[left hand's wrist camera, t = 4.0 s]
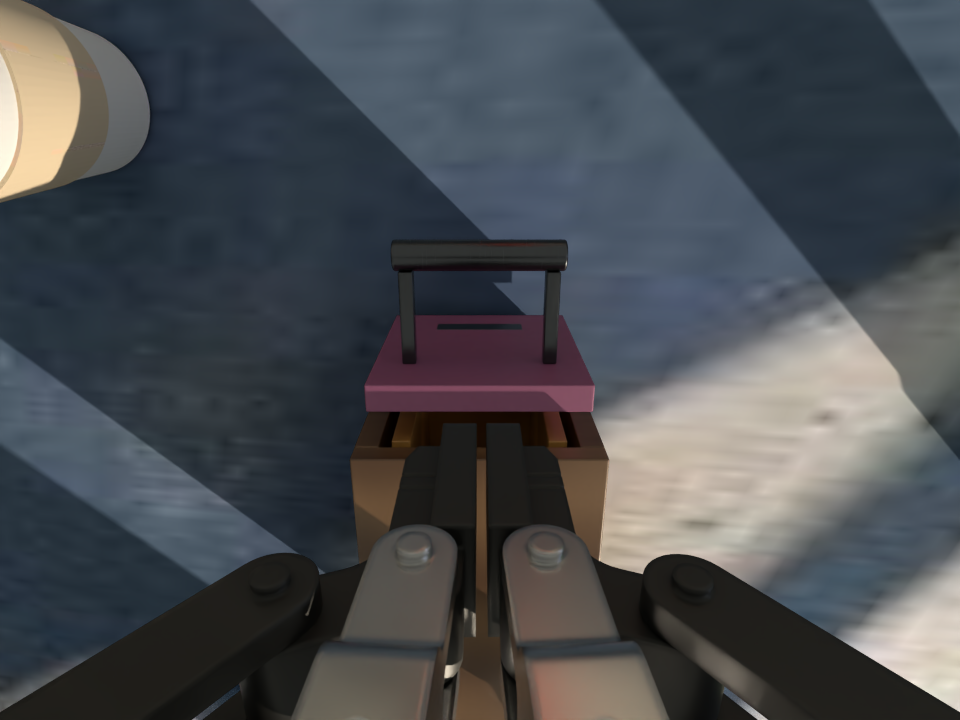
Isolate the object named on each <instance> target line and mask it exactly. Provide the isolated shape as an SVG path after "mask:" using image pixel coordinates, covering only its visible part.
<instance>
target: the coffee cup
mask: <svg viewBox="0 0 960 720" xmlns="http://www.w3.org/2000/svg"><path fill="white" fill-rule="evenodd" d="M149 124H150V108H149V101H148V97H147V93H146V90H145V87H144V85H143V82H142V80H141V78H140V76H139V74H138V73H137V71H136V69H135V68H134V66H133V65H132V63H131V62H130V61H129V60H128V58H127V57H126V56H125V55H124V54H123V53H122V52H121V51H120V50H119V49H118V48H117V47H115V46H114V45H113V44H112V43H110V42H109V41H107V40H106V39H104V38H103V37H101V36H99V35H97V34H95V33H93V32H90V31H88V30H85V29H83V28H80V27H78V26H75V25H73V24H70V23H68V22H65V21H62V20H60V19H57V18H55V17H53V16H51V15H50V14H48V13H47V12H45V11H43V10H41V9H40V8H38V7H36V6H34V5H31V4H29V3H27V2H24V1H22V0H0V203H1V202H5V201H8V200H12V199H16V198H20V197H23V196H27V195H31V194H34V193H38V192H42V191H46V190H49V189H53V188H57V187H60V186H64V185H66V184H69V183H71V182H73V181H75V180H79V179H83V178H87V177H91V176H95V175H99V174H104V173H108V172H111V171H115V170H117V169H119V168H121V167H123V166H125V165H126V164H128V163H129V162H130V161H132V160H133V159H134V158H135V157H136V155H137V154H138V153H139V152H140V150H141V149H142V147H143V145H144V143H145V140H146V138H147V134H148V131H149Z"/></svg>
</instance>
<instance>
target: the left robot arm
mask: <svg viewBox="0 0 960 720" xmlns="http://www.w3.org/2000/svg"><path fill="white" fill-rule="evenodd" d="M476 546H477V423H443V428H442V436H441V444H440V446H418V447H417V448H416V449H415V450H414V451H413V452H412V453H411V454H410V455H409V456H408V457H407V458H406V459H405V463H404V467H403V472H402V477H401V480H400V485H399V489H398V493H397V498H396V502H395V506H394V511H393V515H392V519H391V524H390V528H389V532H387V533H386V534H384V535H383V536H381V537H380V538H379V539H378V540H377V541H376V543H375V544H374V545H373V547H372V549H371V552H370V555H369V558H368V560H366V561H364V562H362V563H360V564H358V565H355V566H353V567H350V568H346V569H342V570H338V571H334V572H330V573H325V574H321V575H319V571H318V568H317V566H316V565H315V563H314V562H313V561H311V560H310V559H309V558H307V557H305V556H302V555H299V554H294V553H276V554H270V555H266V556H263V557H260V558H257V559H255V560H252V561H250V562H248V563H247V564H245V565H243V566H241V567H240V568H238V569H236V570H235V571H233V572H231V573H230V574H228V575H226V576H225V577H223V578H221V579H220V580H218V581H217V582H215V583H213V584H212V585H210V586H208V587H207V588H205V589H203V590H202V591H200V592H198V593H197V594H195V595H193V596H192V597H190V598H188V599H187V600H185V601H183V602H182V603H180V604H178V605H177V606H175V607H174V608H172V609H170V610H169V611H167V612H165V613H164V614H162V615H160V616H159V617H157V618H155V619H154V620H152V621H150V622H149V623H147V624H145V625H144V626H142V627H140V628H139V629H137V630H135V631H134V632H132V633H130V634H129V635H127V636H126V637H124V638H122V639H121V640H119V641H117V642H116V643H114V644H112V645H111V646H109V647H107V648H106V649H104V650H102V651H101V652H99V653H97V654H96V655H94V656H92V657H91V658H89V659H87V660H86V661H84V662H83V663H81V664H79V665H78V666H76V667H74V668H73V669H71V670H69V671H68V672H66V673H64V674H63V675H61V676H59V677H58V678H56V679H54V680H53V681H51V682H49V683H48V684H46V685H44V686H43V687H41V688H40V689H38V690H36V691H35V692H33V693H31V694H30V695H28V696H26V697H25V698H23V699H21V700H20V701H18V702H16V703H15V704H13V705H11V706H10V707H8V708H6V709H5V710H3V711H1V712H0V720H192V719H193V718H195V717H196V716H197V715H199V714H200V713H201V712H202V711H204V710H205V709H206V708H208V707H209V706H210V705H212V704H213V703H214V702H216V701H217V700H218V699H219V698H221V697H222V696H223V695H225V694H226V693H227V692H229V691H230V690H231V689H232V688H234V687H235V686H236V685H238V684H239V685H240V691H239V692H238V693H236V694H235V695H234V696H232V697H231V698H230V699H229V700H227V701H226V702H225V703H223V704H222V705H221V706H220V707H218V708H217V709H216V710H214V711H213V712H212V713H211V714H209V715H208V716H207V717H205V718H204V719H203V720H455V719H456V709H457V700H458V691H459V682H460V666H461V663H462V661H463V649H464V637H476ZM486 547H487V610H488V637H500V650H501V666H500V682H501V691H502V700H503V709H504V719H505V720H757V719H756V718H755V717H753V716H752V715H751V714H749V713H748V712H747V711H746V710H744V709H743V708H742V707H740V706H739V705H738V704H737V703H735V702H734V701H733V700H731V699H730V698H729V697H728V696H726V695H725V694H724V693H723V692H724V687H726V688H728V689H729V690H730V691H731V692H733V693H734V694H735V695H737V696H738V697H739V698H741V699H742V700H743V701H745V702H746V703H747V704H748V705H750V706H751V707H752V708H754V709H755V710H756V711H758V712H759V713H760V714H761V715H763V716H764V717H765V718H767V719H768V720H960V712H959V711H957V710H955V709H954V708H952V707H950V706H949V705H947V704H945V703H944V702H942V701H940V700H939V699H937V698H935V697H934V696H932V695H930V694H929V693H927V692H925V691H924V690H922V689H921V688H919V687H917V686H916V685H914V684H912V683H911V682H909V681H907V680H906V679H904V678H902V677H901V676H899V675H897V674H896V673H894V672H892V671H891V670H889V669H887V668H886V667H884V666H882V665H881V664H879V663H877V662H876V661H874V660H873V659H871V658H869V657H868V656H866V655H864V654H863V653H861V652H859V651H858V650H856V649H854V648H853V647H851V646H849V645H848V644H846V643H844V642H843V641H841V640H839V639H838V638H836V637H834V636H833V635H831V634H830V633H828V632H826V631H825V630H823V629H821V628H820V627H818V626H816V625H815V624H813V623H811V622H810V621H808V620H806V619H805V618H803V617H801V616H800V615H798V614H796V613H795V612H793V611H791V610H790V609H788V608H787V607H785V606H783V605H782V604H780V603H778V602H777V601H775V600H773V599H772V598H770V597H768V596H767V595H765V594H763V593H762V592H760V591H758V590H757V589H755V588H753V587H752V586H750V585H748V584H747V583H745V582H744V581H742V580H740V579H739V578H737V577H735V576H734V575H732V574H730V573H729V572H727V571H725V570H724V569H722V568H720V567H719V566H717V565H715V564H713V563H711V562H709V561H707V560H704V559H702V558H698V557H695V556H690V555H683V554H670V555H664V556H661V557H658V558H656V559H654V560H652V561H651V562H650V563H649V564H648V565H647V566H646V568H645V570H644V572H643V574H639V573H635V572H631V571H627V570H622V569H619V568H615V567H612V566H609V565H607V564H604V563H602V562H600V561H598V560H597V559H595V558H594V557H592V556H591V555H590V552H589V549H588V547H587V545H586V544H585V543H584V541H583V540H582V539H581V538H580V537H579V536H577V535H576V533H575V529H574V525H573V521H572V517H571V512H570V508H569V504H568V500H567V496H566V492H565V489H564V483H563V479H562V477H561V471H560V467H559V462H558V459H557V458H556V457H555V456H554V455H553V454H552V453H551V452H550V451H549V450H548V449H547V448H546V447H545V446H523V443H522V436H521V429H520V423H486Z"/></svg>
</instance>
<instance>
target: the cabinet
mask: <svg viewBox="0 0 960 720" xmlns="http://www.w3.org/2000/svg"><path fill="white" fill-rule="evenodd" d="M399 415H400V412H369V413H368V415H367V418H366V420H365V423H364V425H363V428H362V430H361V433H360V435H359V437H358V440H357V442H356V445H355V448H354V450H353V453H352V455H351V458H350V469H351V480H352V491H353V502H354V512H355V523H356V534H357V544H358V555H359V564H360V563H362V562H364V561H366V560H368V558H369V555H370V552H371V549H372V547H373V545H374V544H375V543H376V541H377V540H378V539H379V538H380V537H381V536H383V535H384V534H386V533H387V532H389V528H390V524H391V519H392V515H393V511H394V506H395V502H396V498H397V493H398V489H399V485H400V480H401V477H402V472H403V467H404V463H405V459H406V458H407V457H408V456H409V455H410V454H411V453H412V452H413V451H414V450H415V449H416V448H392V439H393V436H394V432H395V429H396V425H397V422H398V418H399ZM559 415H560V419H561V422H562V426H563V429H564V433H565V436H566V440H567V448H547V449H548V450H549V451H550V452H551V453H552V454H553V455H554V456H555V457H556V458H557V459H558V462H559V467H560V471H561V477H562V479H563V483H564V489H565V492H566V496H567V500H568V504H569V508H570V512H571V517H572V521H573V525H574V529H575V533H576V535H577V536H579V537H580V538H581V539H582V540H583V541H584V543H585V544H586V545H587V547H588V549H589V552H590V555H591V556H592V557H594V558H595V559H597V560H598V561H600V555H601V544H602V533H603V522H604V511H605V500H606V490H607V479H608V468H609V458H608V456H607V453H606V451H605V448H604V445H603V443H602V440H601V438H600V435H599V433H598V430H597V428H596V425H595V423H594V420H593V418H592V415H591V413H590V412H559ZM500 666H501V650H500V637H488V610H487V547H486V448H477V546H476V637H464V649H463V661H462V663H461V666H460V682H459V691H458V700H457V709H456V719H455V720H505V719H504V709H503V700H502V691H501V682H500Z"/></svg>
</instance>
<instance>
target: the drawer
mask: <svg viewBox="0 0 960 720" xmlns="http://www.w3.org/2000/svg"><path fill="white" fill-rule="evenodd" d="M567 263H568V244H567V241H566V240H393V241H392V243H391V264H392V268H393V270H394V271H399V272H398V287H399V306H400V315H397V316H396V318H395V320H394V323H393V325H392V327H391V329H390V331H389V333H388V335H387V338H386V340H385V342H384V344H383V346H382V348H381V350H380V353H379V355H378V357H377V359H376V361H375V363H374V365H373V368H372V370H371V372H370V374H369V376H368V378H367V381H366V383H365V385H364V391H365V404H366V411H367V412H400V415H399V418H398V422H397V425H396V429H395V432H394V436H393V439H392V448H417V447H418V446H440V444H441V436H442V428H443V423H477V448H486V423H520V429H521V436H522V443H523V446H545V447H546V448H567V440H566V436H565V433H564V429H563V426H562V422H561V419H560V415H559V412H592V411H593V401H594V389H595V385H594V383H593V381H592V379H591V376H590V374H589V372H588V370H587V368H586V366H585V363H584V361H583V359H582V357H581V355H580V353H579V350H578V348H577V346H576V344H575V342H574V340H573V337H572V335H571V333H570V331H569V329H568V326H567V324H566V322H565V320H564V318H563V316H562V315H559V303H560V284H561V272H560V271H565V270H566V268H567ZM414 271H545V290H544V314H543V315H415V292H414Z"/></svg>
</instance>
